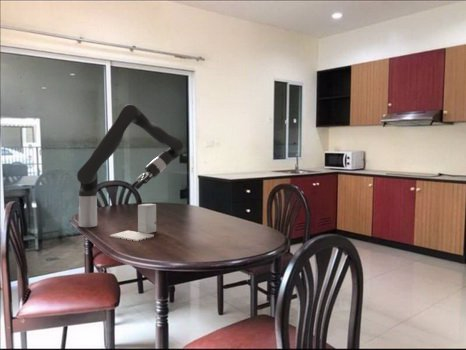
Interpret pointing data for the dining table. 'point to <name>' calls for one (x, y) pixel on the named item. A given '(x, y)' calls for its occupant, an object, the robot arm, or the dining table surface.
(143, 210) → the skincare box
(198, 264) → the dining table surface
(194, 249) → the dining table surface
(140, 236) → the mat
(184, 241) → the dining table surface
